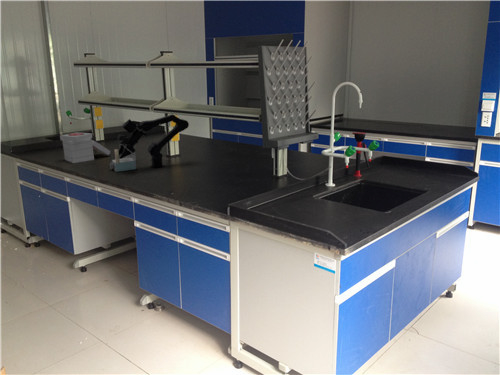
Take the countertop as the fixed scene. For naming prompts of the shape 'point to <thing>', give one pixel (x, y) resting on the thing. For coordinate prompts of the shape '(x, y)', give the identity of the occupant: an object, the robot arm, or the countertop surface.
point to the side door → (123, 163)
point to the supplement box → (131, 155)
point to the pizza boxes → (80, 147)
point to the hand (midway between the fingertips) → (118, 157)
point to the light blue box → (112, 164)
